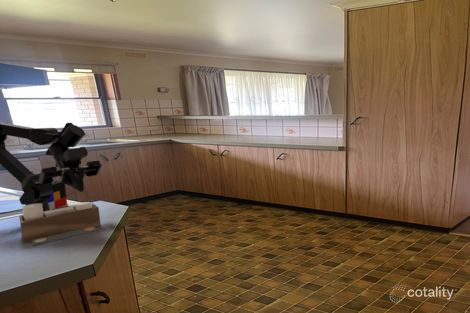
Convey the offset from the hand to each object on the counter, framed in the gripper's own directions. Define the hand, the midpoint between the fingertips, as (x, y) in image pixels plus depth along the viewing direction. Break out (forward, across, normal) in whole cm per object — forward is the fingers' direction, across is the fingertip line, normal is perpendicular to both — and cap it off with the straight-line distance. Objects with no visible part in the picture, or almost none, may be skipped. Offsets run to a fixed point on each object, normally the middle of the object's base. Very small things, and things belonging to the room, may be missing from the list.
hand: (82, 190), depth 102 cm
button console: (+7, -7, +9) cm, 13 cm away
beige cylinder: (+7, 0, +8) cm, 11 cm away
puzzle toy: (-18, +2, +34) cm, 39 cm away
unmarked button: (+3, -14, +8) cm, 16 cm away
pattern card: (+12, -9, +5) cm, 15 cm away
